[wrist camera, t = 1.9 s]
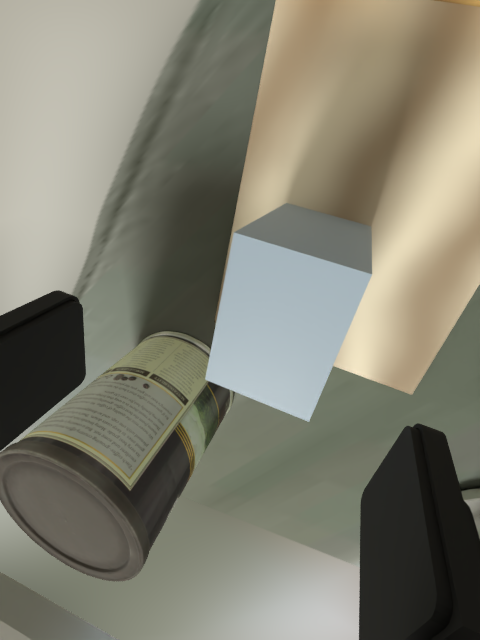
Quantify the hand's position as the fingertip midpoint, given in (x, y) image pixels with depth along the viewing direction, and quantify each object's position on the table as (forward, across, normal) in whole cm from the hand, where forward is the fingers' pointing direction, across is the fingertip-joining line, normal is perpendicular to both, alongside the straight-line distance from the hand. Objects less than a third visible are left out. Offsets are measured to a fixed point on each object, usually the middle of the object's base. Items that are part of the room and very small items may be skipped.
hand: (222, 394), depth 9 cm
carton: (+14, -1, +1) cm, 14 cm away
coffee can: (+15, +7, +15) cm, 22 cm away
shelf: (+15, -2, -3) cm, 16 cm away
